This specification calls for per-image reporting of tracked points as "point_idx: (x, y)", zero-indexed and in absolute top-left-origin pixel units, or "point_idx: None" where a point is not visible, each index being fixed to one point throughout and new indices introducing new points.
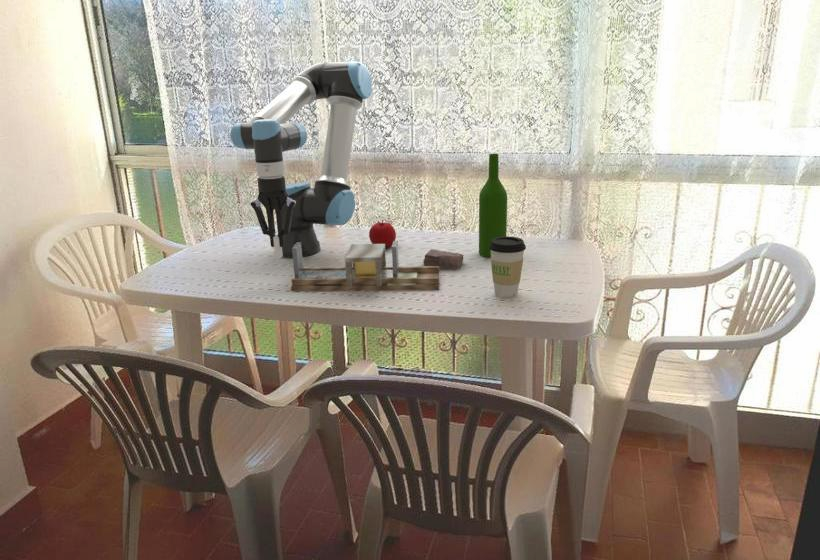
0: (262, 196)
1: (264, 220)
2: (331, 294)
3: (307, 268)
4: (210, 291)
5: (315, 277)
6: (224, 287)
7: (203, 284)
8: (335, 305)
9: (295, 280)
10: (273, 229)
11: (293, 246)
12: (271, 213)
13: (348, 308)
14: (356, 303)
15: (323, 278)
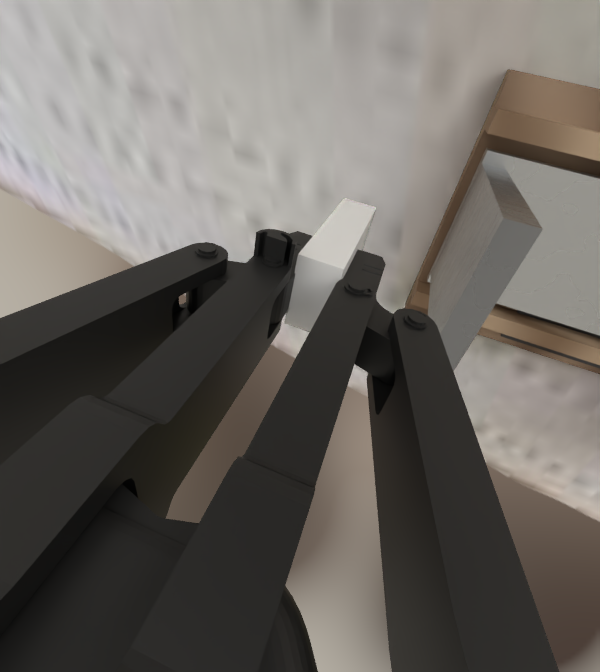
0: None
1: (132, 335)
2: (549, 386)
3: (543, 141)
4: (129, 208)
5: (534, 296)
6: (158, 177)
7: (68, 112)
8: (521, 459)
9: (427, 308)
10: (267, 334)
11: (442, 330)
12: (173, 481)
13: (550, 488)
14: (596, 475)
15: (563, 338)
